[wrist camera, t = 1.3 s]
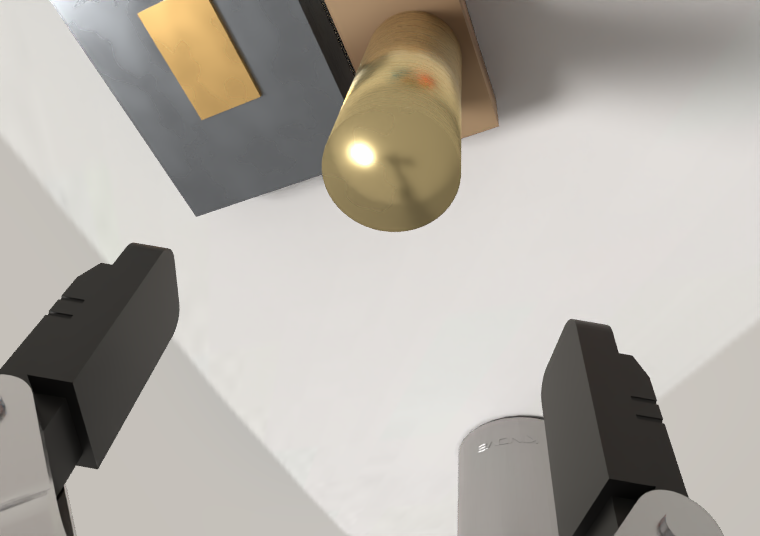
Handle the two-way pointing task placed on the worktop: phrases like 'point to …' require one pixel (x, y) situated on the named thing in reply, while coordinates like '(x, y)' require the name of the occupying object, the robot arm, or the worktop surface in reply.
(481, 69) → the brown rectangular block
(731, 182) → the worktop surface
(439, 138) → the brass peg
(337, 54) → the flange plate
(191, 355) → the worktop surface
